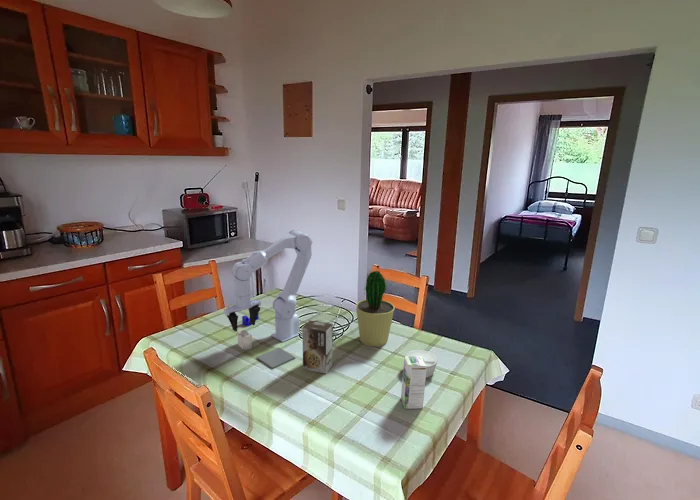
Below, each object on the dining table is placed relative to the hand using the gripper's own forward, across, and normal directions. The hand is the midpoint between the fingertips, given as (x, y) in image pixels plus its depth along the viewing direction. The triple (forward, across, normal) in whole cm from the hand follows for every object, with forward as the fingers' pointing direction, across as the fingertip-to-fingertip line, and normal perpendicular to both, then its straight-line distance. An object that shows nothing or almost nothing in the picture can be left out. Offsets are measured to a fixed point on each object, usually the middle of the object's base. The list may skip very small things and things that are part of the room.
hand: (243, 327), depth 143 cm
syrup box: (+8, -17, +66) cm, 69 cm away
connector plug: (+8, 0, 0) cm, 8 cm away
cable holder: (+8, -14, -17) cm, 23 cm away
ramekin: (+8, -34, +58) cm, 68 cm away
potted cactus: (+8, -40, +32) cm, 52 cm away
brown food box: (+8, -10, +31) cm, 34 cm away
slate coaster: (+8, -3, +16) cm, 18 cm away
